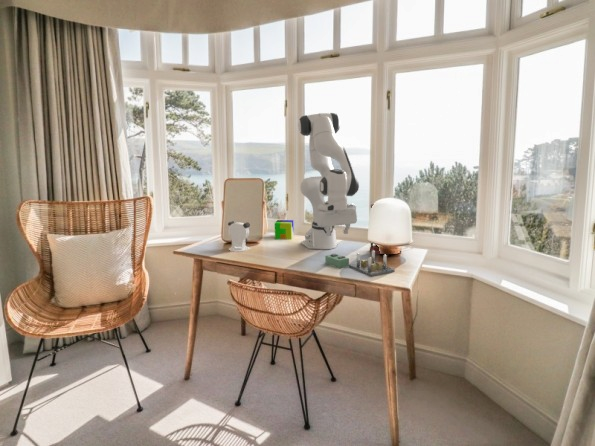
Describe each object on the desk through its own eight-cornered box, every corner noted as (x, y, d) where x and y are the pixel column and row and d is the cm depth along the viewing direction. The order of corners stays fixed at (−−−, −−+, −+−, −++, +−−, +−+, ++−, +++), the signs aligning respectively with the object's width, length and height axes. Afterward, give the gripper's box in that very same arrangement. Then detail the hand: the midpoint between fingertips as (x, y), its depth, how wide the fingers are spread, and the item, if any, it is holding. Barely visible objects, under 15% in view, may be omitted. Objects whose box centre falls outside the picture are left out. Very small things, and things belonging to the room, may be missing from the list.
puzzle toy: (293, 235, 245) (293, 220, 243) (291, 239, 235) (291, 223, 233) (278, 235, 246) (277, 220, 244) (275, 239, 237) (274, 223, 235)
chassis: (349, 266, 179) (349, 252, 178) (371, 262, 186) (371, 248, 184) (371, 276, 166) (371, 260, 164) (394, 271, 172) (395, 256, 170)
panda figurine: (254, 247, 217) (253, 221, 214) (244, 252, 207) (243, 224, 204) (235, 245, 222) (234, 219, 219) (224, 250, 211) (223, 223, 208)
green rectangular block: (325, 263, 186) (325, 254, 185) (335, 261, 189) (335, 252, 188) (339, 268, 178) (339, 259, 177) (348, 266, 181) (349, 256, 180)
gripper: (351, 202, 186) (351, 231, 188) (315, 206, 176) (315, 236, 178) (359, 204, 180) (359, 233, 183) (322, 207, 170) (322, 238, 173)
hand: (337, 234), depth 180 cm, fingers open, 8 cm apart
